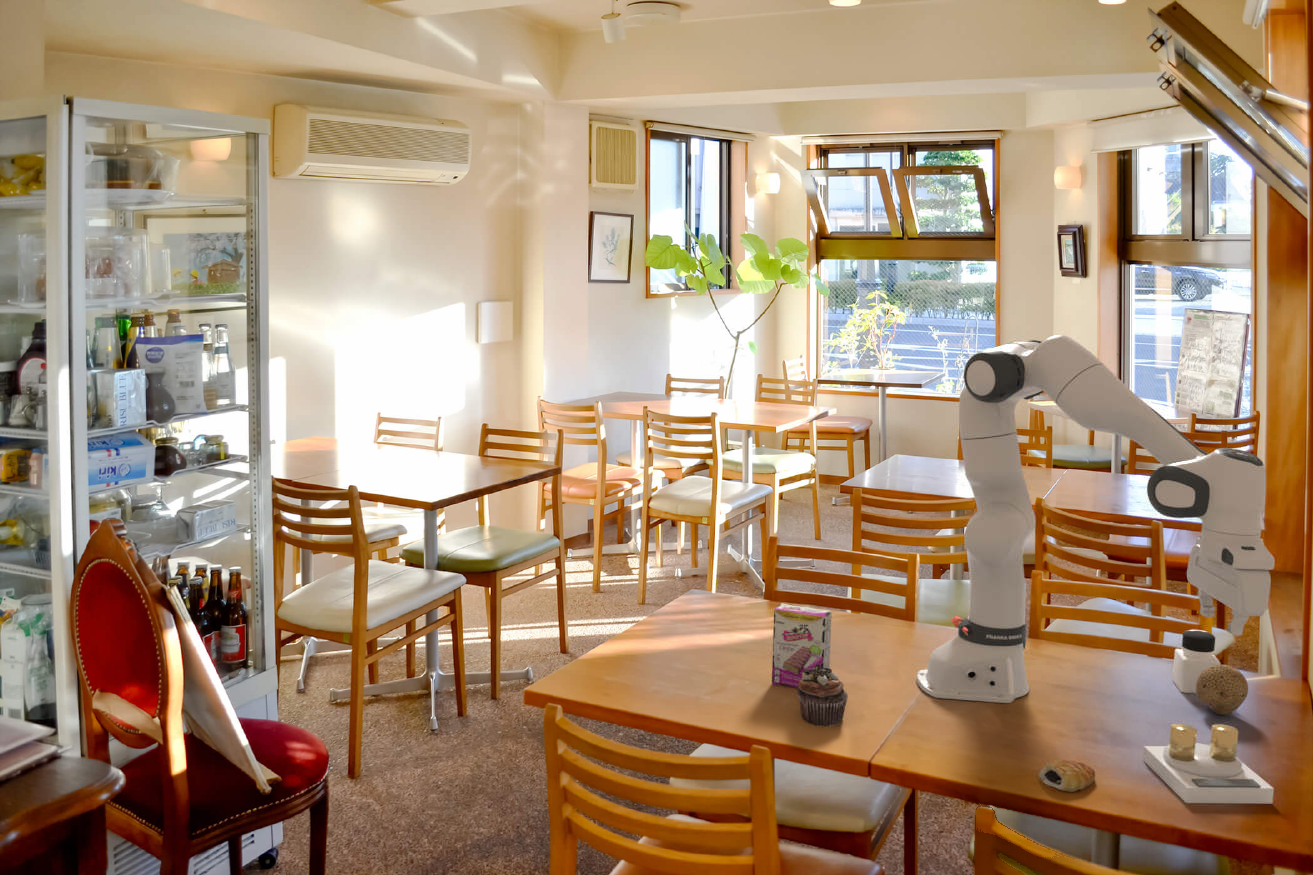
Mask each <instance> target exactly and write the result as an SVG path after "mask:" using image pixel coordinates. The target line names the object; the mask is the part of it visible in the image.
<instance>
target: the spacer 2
mask: <svg viewBox="0 0 1313 875" xmlns="http://www.w3.org/2000/svg"><path fill="white" fill-rule="evenodd" d="M1238 739H1239V730H1238V729H1237V728H1236V727H1234V726H1231V725H1228V724H1224V723H1223V724H1220V723H1217V724H1213V725H1211V731H1210V742H1209V743H1210V744H1209V745H1210V756H1211V757H1212V758H1214V759H1216V760H1219V761H1223V762H1233V761H1235V760H1236V756H1237V750H1238Z"/></svg>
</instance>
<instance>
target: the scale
mask: <svg viewBox="0 0 1313 875" xmlns="http://www.w3.org/2000/svg"><path fill="white" fill-rule="evenodd" d="M1142 757H1143V758H1142V760H1143V762H1144V763H1145V764H1146V765H1147V766H1148V767H1149V768H1150V769H1151V770H1152V771H1153V772H1154V773H1155V774H1156V775H1157V776H1158V777H1160V779H1161V780H1162V781H1163V782H1165V784H1166V785H1167V786H1168V787H1169V788H1171V789H1172V791H1173V792H1174V793H1175V794H1176V795H1177V796H1178V797H1180V799H1181V800H1182V801H1183V802H1184V803H1185V804H1256V805H1257V804H1258V805H1259V804H1273V800H1274V787H1273V786H1271V784H1269V783H1268V782H1266V781H1265V780H1264V779H1263V778H1262V777H1261V776H1259V775H1258V774H1257V773H1256V772H1255V771H1253V769H1251V768H1249V767H1248V765H1246V764H1245V763H1244V762H1242V760H1241V759H1240V758H1239V757H1238V756H1237V755H1236V760H1235V761H1233V762H1223V761H1219V760H1216V759H1214V758H1212V757H1211V756H1210V744H1205V743H1200V742H1196V746H1195V758H1194V760H1193V761H1189V762H1186V761H1179V760H1176V759H1173V758H1171V757H1170V756H1169V744H1168V745H1165V746H1164V745H1163V746H1161V745H1160V746H1159V745H1158V746H1157V745H1155V746H1154V745H1144V746H1143V756H1142Z"/></svg>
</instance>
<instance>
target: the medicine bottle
mask: <svg viewBox="0 0 1313 875" xmlns="http://www.w3.org/2000/svg"><path fill="white" fill-rule="evenodd" d="M1215 645H1216V637H1215V635H1214V634H1213V633H1210V631H1206V630H1201V629H1189V630H1185V631H1184V632H1183V633H1182V641H1181V648H1175V649H1174V658H1173V672H1172V681H1173V683H1174V684H1175V686H1176V687H1177V688H1178V690H1179V691H1180V693H1182V692H1183V693H1185V694H1196V682H1197V679H1198V677H1199V675H1200V674H1201V673H1202V672H1203V671H1204V670H1205V669H1207V668H1209V667H1212V666H1214V665H1222V664H1221V662H1220V660H1219V659H1218V658H1217V657H1216V655H1214V654H1215V647H1216V646H1215Z"/></svg>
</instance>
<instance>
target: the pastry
mask: <svg viewBox="0 0 1313 875" xmlns="http://www.w3.org/2000/svg"><path fill="white" fill-rule="evenodd" d="M1038 777H1039V779H1040V780H1041V782H1042V783H1043V784H1045V785H1047V786H1049V787H1053V788H1055V789H1057V790H1059V791H1060V792H1061V791H1062V792H1066V791H1068V792H1067V793H1072V792H1076V791H1078V790H1080V791H1082V790H1084V789H1085V788H1087V787H1089V786H1091V785H1092V784H1093V783H1094V781H1095V779H1096V771H1095V770H1094V768H1092V767H1091V766H1089V765H1088V764H1086V763H1084V762H1082V761H1074V760H1065V759H1056V760H1055V761H1049V762H1047V763H1046V764H1045V766H1044V767H1043V768H1042V769H1041V771H1039V773H1038Z"/></svg>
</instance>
